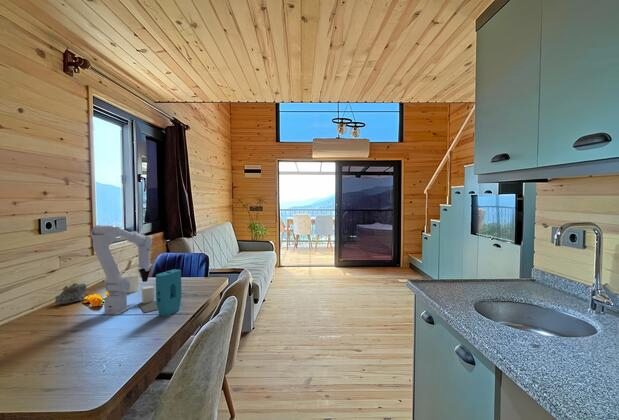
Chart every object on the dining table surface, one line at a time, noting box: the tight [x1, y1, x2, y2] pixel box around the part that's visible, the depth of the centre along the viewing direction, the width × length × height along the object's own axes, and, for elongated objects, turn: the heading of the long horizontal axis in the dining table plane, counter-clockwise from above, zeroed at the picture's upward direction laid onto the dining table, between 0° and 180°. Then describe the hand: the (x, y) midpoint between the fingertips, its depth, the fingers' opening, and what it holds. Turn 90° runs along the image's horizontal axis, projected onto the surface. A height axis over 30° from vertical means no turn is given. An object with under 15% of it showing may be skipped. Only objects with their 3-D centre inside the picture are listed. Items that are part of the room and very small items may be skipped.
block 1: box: [141, 285, 155, 304], centre depth 159 cm, size 4×5×8 cm
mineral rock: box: [54, 282, 88, 305], centre depth 159 cm, size 13×11×10 cm
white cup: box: [124, 272, 141, 294], centre depth 178 cm, size 8×8×10 cm
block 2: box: [155, 268, 182, 317], centre depth 144 cm, size 12×5×20 cm, turn 160°
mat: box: [138, 300, 158, 314], centre depth 152 cm, size 14×10×1 cm
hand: (144, 281), depth 164 cm, fingers closed
